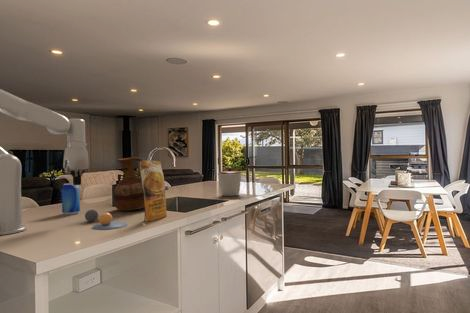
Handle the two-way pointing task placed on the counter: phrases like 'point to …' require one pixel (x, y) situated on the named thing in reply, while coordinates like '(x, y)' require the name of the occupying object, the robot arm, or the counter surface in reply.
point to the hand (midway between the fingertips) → (77, 184)
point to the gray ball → (91, 215)
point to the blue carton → (70, 199)
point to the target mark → (109, 226)
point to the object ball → (105, 218)
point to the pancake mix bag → (153, 189)
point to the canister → (229, 182)
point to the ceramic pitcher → (129, 187)
